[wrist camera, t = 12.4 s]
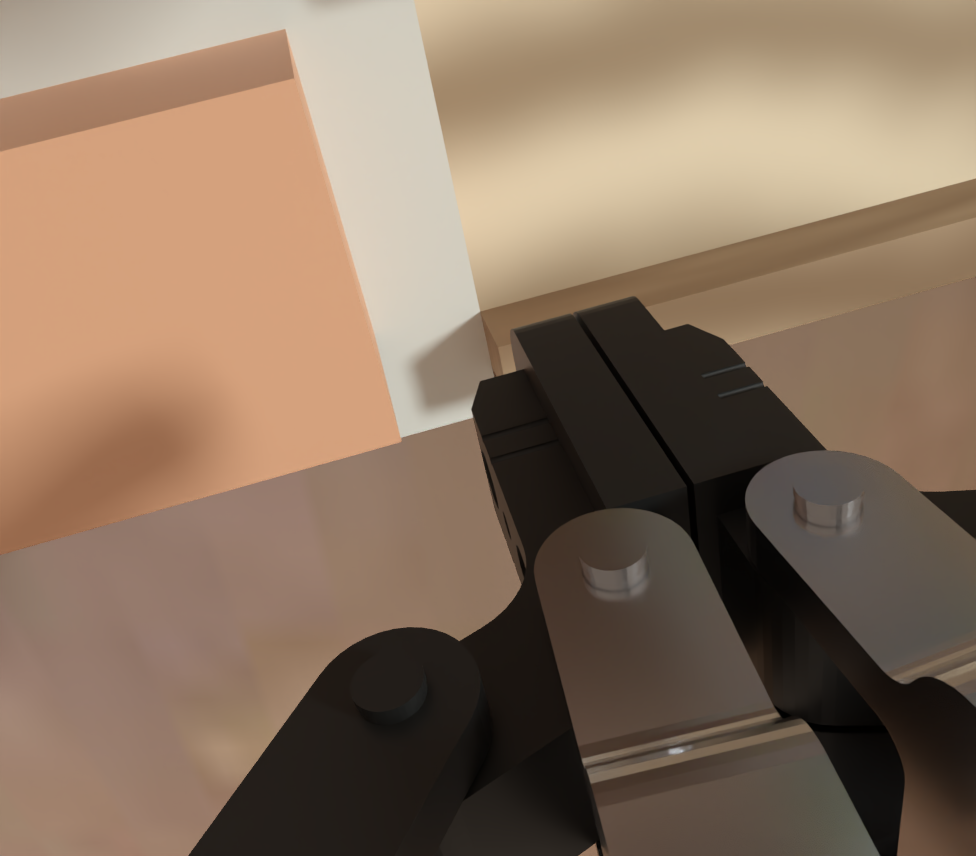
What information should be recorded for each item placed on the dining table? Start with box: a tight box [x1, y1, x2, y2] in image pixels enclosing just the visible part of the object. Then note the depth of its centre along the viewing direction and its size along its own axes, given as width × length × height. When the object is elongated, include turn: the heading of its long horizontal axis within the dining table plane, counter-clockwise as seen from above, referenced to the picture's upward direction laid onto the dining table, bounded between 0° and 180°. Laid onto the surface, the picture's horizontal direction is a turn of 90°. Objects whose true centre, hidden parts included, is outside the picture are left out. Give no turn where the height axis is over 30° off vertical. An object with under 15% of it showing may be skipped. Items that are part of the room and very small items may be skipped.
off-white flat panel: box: [0, 0, 494, 437], centre depth 20 cm, size 14×13×1 cm
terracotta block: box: [0, 29, 402, 555], centre depth 18 cm, size 7×8×5 cm
